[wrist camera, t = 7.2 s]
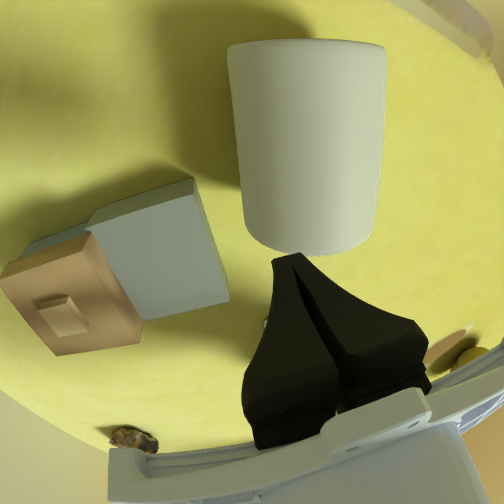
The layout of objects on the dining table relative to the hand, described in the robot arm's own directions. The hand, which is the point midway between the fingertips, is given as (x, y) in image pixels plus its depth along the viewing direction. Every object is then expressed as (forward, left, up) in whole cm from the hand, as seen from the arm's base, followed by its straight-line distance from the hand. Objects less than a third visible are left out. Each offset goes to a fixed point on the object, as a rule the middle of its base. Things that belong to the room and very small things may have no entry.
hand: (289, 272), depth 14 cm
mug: (+9, -6, -7) cm, 13 cm away
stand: (-3, +8, -10) cm, 13 cm away
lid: (-3, +16, -7) cm, 18 cm away
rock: (-38, +29, -11) cm, 49 cm away
